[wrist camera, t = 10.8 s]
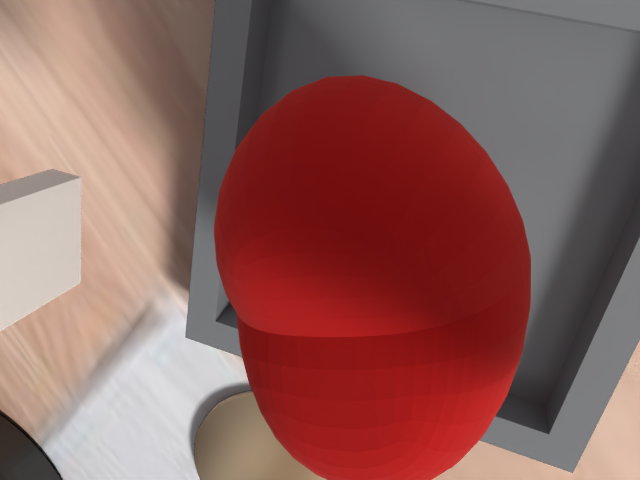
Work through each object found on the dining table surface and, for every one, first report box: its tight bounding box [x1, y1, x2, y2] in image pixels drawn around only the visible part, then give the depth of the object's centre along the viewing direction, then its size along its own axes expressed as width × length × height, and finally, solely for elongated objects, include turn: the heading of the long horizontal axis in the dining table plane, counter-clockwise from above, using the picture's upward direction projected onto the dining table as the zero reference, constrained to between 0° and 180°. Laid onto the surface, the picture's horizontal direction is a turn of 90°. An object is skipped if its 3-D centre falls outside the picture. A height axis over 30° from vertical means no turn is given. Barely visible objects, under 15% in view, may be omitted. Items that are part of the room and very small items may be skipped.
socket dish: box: [185, 0, 640, 473], centre depth 18 cm, size 15×15×2 cm
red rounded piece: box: [214, 75, 531, 480], centre depth 14 cm, size 9×7×10 cm
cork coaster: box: [194, 391, 327, 480], centre depth 25 cm, size 9×9×1 cm
